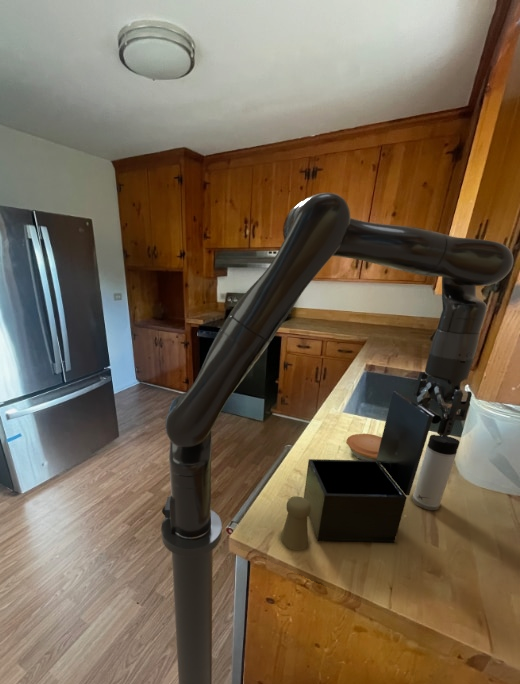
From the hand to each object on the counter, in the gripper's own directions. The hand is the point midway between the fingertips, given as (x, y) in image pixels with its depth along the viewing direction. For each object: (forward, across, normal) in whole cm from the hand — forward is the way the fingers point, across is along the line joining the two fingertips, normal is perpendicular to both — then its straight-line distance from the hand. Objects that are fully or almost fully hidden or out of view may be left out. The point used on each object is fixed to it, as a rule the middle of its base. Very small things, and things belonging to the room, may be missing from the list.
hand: (431, 425), depth 72 cm
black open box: (+26, 0, -15) cm, 30 cm away
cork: (+26, +7, -29) cm, 40 cm away
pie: (+26, -32, +4) cm, 42 cm away
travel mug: (+26, -7, +9) cm, 29 cm away
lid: (+4, 0, -6) cm, 7 cm away
